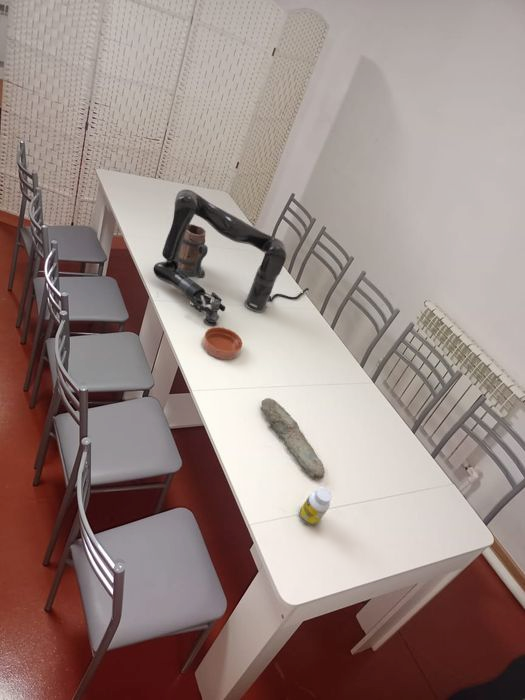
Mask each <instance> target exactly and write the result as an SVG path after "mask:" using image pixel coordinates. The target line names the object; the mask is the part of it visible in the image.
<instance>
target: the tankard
mask: <svg viewBox="0 0 525 700" xmlns="http://www.w3.org/2000/svg"><path fill="white" fill-rule="evenodd" d="M207 254H208V246H207V245H206V229H204V228H203V227H201V226H198V225H196V224H192V223H190V224H189V226H188V228H187V231H186V234H185V237H184V241H183V244H182V248H181V251H180V254H179V257H178V271H179V272H182V273H184V274H185V275H186V276H187V277H189V278H190V277H191V278H193V277H196V279H204V278H205V277H206V272H205V270H204V269H202V266H201V265H202V262H203V259H204V258H205V257H206V256H207Z"/></svg>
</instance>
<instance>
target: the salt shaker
mask: <svg viewBox="0 0 525 700" xmlns="http://www.w3.org/2000/svg"><path fill="white" fill-rule="evenodd" d="M219 305H220V301H218V299H217V300H214V301H213V304H212V306H211V305H210V309H211V310H212V311H213V312H214V313H213V316H210V315H208V314H207V313H206V312H205V318H204V320H203V321H204V323H205V324H206V325H207V326H209V327H216V325H217V321H218V320H219V319H220V315H219V313H218V312H219V311H220V309H219Z"/></svg>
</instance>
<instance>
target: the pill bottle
mask: <svg viewBox="0 0 525 700" xmlns="http://www.w3.org/2000/svg"><path fill="white" fill-rule="evenodd" d="M332 498H333V496H332V493H331V491H330V490H329V489H328V488H326V487H318V488H317V489H316V490H315V491H312V492H311V493H310V494H309V495H308V497H307V498H306V500H305V501H304V503H303V504H302V506H301V508H300V509H299V517H300V519H301V520H302V522H303V523H304V524H306V525H309V526H315V525H317V524H318V523H319V522H320V521H321V520H322V518H323V517H324V515H325V514H326V513H327V511H328V510H329V508H330V505H331V500H332Z"/></svg>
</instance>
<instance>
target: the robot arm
mask: <svg viewBox="0 0 525 700" xmlns="http://www.w3.org/2000/svg"><path fill="white" fill-rule="evenodd" d="M194 216H197V217H199V218H201V219H203V220H204V221H206V223H208V224H209V226H211V227H212V228H213V229H214V230H215V231H216V232H217V233H219V234H220V235H221V236H222V237H225V238H226V239H228V240H230V241H232V242H234V243H237V244H243V245H249V246H252V247H254V248H256V249H257V250H259V251H261V252H262V253H263V258H262V261H261V263H260V265H259V266H258V267H257V270H256V273H255V275H254V278H253V280H252V283H251V286H250V289H249V292H248V294H247V296H246V300H245V302H244V305H245V307H246V308H247V309H248V310H250V311H252V312H255V313H261V312H264V311H265V309H266V306H267V304H268V303H269V302H272V301H273V300H274V299H275V298H276V297H278V296H279V297H284V298H287V299H291V300H296V299H298V298H300V297H301V296H302V295H303V294H304V293H306V291H310V289H309V287H306V288H304V289H303V290H302V292H303V293H302V292H300V293H298V295H296V296H289V295H286V294H282V293H275V294H274V295H272V296H271V294H272V291H273V289H274V286H275V283H276V281H277V278H278V277H279V275H280V273H281V272H282V269H283V267H284V265H285V262H286V260H287V249H286V246H285V244H284V242H283V241H282V240H281V239H279V238H277V237H274V236H272V235H269V234H267V233H265V232H263V231H261V230H259V229H257V228H255V227H254V226H252V225H251V224H249V223H247V222H246V221H243V220H242V219H241V218H239V217H237V216H235V215H233V214H231V213H229V212H227V211H226V210H224V209H222V208H220V207H218V206H216V205H214V204H212V202H209V201H208V200H206V199H205V198H203V197H202V196H201V195H200V194H198V193H197V192H195V191H194V190H191V189H187V188H186V189H181V190H179V191H178V192H177V194H176V196H175V199H174V210H173V218H172V223H171V227H170V229H169V232H168V233H167V237H166V239H165V241H164V245H163V248H162V251H161V255H162V257H163V259H165V260H163V261H158V262H156V263H155V264H154V265H153V268H152V271H153V274H154V276H155V277H156V278H157V279H159V280H160V281H162V282H164V283H166V284H168V285H171V286H173V287H174V288H175V289H176V290H177V291H178V292H179V293H180V294H181V295H182V296H184V297H185V298H186V299H188V301H190V302H189V306H190V307H192V309H194V310H196V311H197V312H199V313H202V312H204V313H205V314H206V313H207V314H208V315H210V316H213V313H214V312H213V311H212V310H211V306H212V304H213V301H214V300H217V299H218V301H220V305H219V311H221V312H225V311H226V306H225V305H224V304H223V303H222V301H223V300H222V298H221V297H219V295H217V294H216V292H211V293H210V294H209V293H207V292H206V290H205V288H204V287H203V286H201V285H200V284H198V283H197V282H196V281H195V280H193V279H192V278H190V277H188V276H186V275H185V274H184V273H182V272H179V271H178V257H179V254H180V251H181V248H182V244H183V241H184V237H185V234H186V231H187V228H188V226H189V224H191V222H192V220H193V218H194ZM208 305H209V306H210V307H209V306H208Z"/></svg>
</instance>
